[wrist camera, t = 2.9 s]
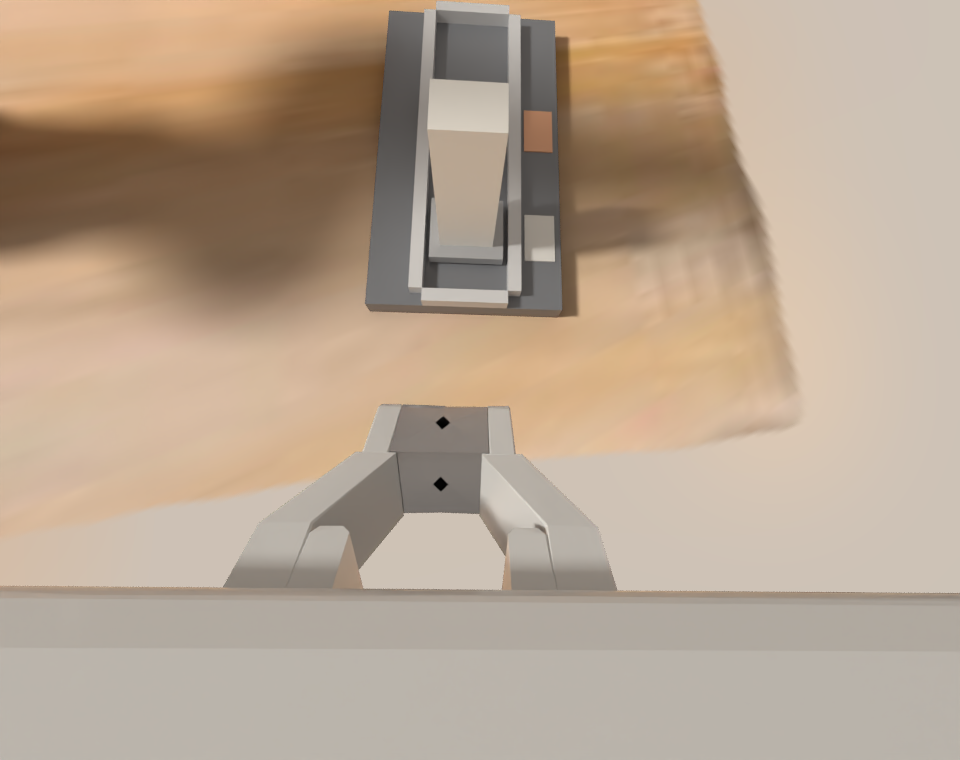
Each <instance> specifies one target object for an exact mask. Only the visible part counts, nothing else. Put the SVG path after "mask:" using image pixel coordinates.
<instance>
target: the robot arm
mask: <svg viewBox="0 0 960 760" xmlns="http://www.w3.org/2000/svg"><path fill="white" fill-rule="evenodd" d="M434 512H437V513H438V512H442V513H468V514H469V513H470V514H480V517H481V519H482V520H483V522H484V524H485V525H486V527H487V528H488V530H489V531H490V533H491V535H492V536H493V538H494V539H495V541H496V542H497V544H498V545H499V547H500V548H501V550H502V551H503V553H504V555H505V556H506V558H505V567H504V575H503V585H502V590H443V589H442V590H440V589H438V590H437V589H363V586H362V582H361V578H360V574H359V569H360V568H361V566H362V565H363V564H364V563H365V562H366V560H367V559H368V558H369V557H370V555H371V554H372V553H373V552H374V551H375V549H376V548H377V547H378V546H379V544H380V543H381V542H382V541H383V540H384V538H385V537H386V536H387V535H388V534H389V532H390V531H391V530H392V529H393V528H394V526H395V525H396V524H397V522H398V521H399V520H400V519H401V518H402V517H403V516H404V515H403V513H434ZM0 760H960V593H855V592H851V593H850V592H847V593H846V592H729V591H728V592H727V591H726V592H725V591H617V588H616V585H615V581H614V578H613V575H612V571H611V568H610V565H609V562H608V558H607V555H606V552H605V548H604V545H603V542H602V539H601V535H600V532H599V529H598V527H597V526H596V525H595V524H594V523H593V522H592V521H591V520H590V519H589V518H588V517H587V516H586V515H585V514H584V513H583V512H582V511H580V510H579V509H578V508H577V507H576V506H575V505H574V504H573V503H572V502H571V501H570V500H569V499H568V498H567V497H566V496H565V495H564V494H563V493H562V492H561V491H560V490H559V489H558V488H557V487H555V485H553V484H552V483H551V482H550V481H549V480H548V479H547V478H546V477H545V476H544V475H543V474H542V473H541V472H540V471H539V470H538V469H537V468H536V467H535V466H534V465H533V464H532V463H531V462H530V461H529V460H527V459H526V458H525V457H524V456H523V455H522V454H516V453H515V445H514V436H513V428H512V420H511V412H510V408H509V407H508V406H488V407H446V406H429V405H404V404H403V405H401V404H381V405H380V406H379V407H378V409H377V412H376V415H375V418H374V421H373V423H372V426H371V429H370V432H369V435H368V437H367V440H366V443H365V446H364V449H363V451H362V452H355V453H353V454H352V455H351V456H349V457H348V458H347V459H345V460H344V461H343V462H341V463H340V464H338V465H337V466H336V467H334V468H333V469H332V470H330V471H329V472H328V473H326V474H325V475H323V476H322V477H321V478H319V479H318V480H317V481H315V482H314V483H313V484H311V485H310V486H308V487H307V488H306V489H305V490H303V491H302V492H300V493H299V494H297V495H296V496H295V497H293V498H292V499H291V500H290V501H288V502H287V503H285V504H284V505H282V506H281V507H280V508H278V509H277V510H276V511H274V512H273V513H272V514H270V515H269V516H267V517H266V518H265V519H263V520H262V521H261V522H259V524H258V525H257V527H256V529H255V531H254V533H253V534H252V536H251V538H250V540H249V542H248V544H247V545H246V547H245V549H244V551H243V552H242V554H241V556H240V558H239V559H238V561H237V563H236V565H235V567H234V568H233V570H232V572H231V574H230V576H229V577H228V579H227V581H226V583H225V585H224V586H223V588H209V587H202V588H201V587H200V588H199V587H82V586H80V587H78V586H77V587H76V586H75V587H74V586H0Z"/></svg>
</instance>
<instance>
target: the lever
mask: <svg viewBox="0 0 960 760" xmlns="http://www.w3.org/2000/svg"><path fill="white" fill-rule="evenodd" d="M508 129H509V83H498V82H480V81H462V80H444V79H430V87H429V105H428V124H427V132H428V141H429V150H430V159H431V168H432V177H433V187H434V196H435V198H432V199H431V219H430V240H429V261H430V262H442V263H468V264H495V265H502V262H503V201H499V198H500V190H501V183H502V176H503V169H504V162H505V155H506V147H507V140H508Z"/></svg>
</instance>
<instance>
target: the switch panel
mask: <svg viewBox="0 0 960 760" xmlns="http://www.w3.org/2000/svg"><path fill="white" fill-rule="evenodd" d="M430 79H444V80H462V81H480V82H498V83H509V129H508V140H507V147H506V155H505V162H504V169H503V176H502V183H501V190H500V198H499V201H503V262H502V265H495V264H468V263H442V262H430V261H429V240H430V219H431V199H432V198H435V196H434V187H433V177H432V168H431V159H430V150H429V141H428V132H427V124H428V105H429V87H430ZM365 304H366V306H367V307H368V309H369V310H370V311H383V312H414V313H444V314H475V315H505V316H536V317H558V316H559V314H560V313H561V311H562V281H561V242H560V204H559V165H558V127H557V88H556V49H555V21H546V20H530V19H520V15H511V14H509V5H494V4H479V3H463V2H448V1H437V2H436V10H432V9H425V10H424V13H419V12H403V11H389V20H388V33H387V45H386V57H385V69H384V81H383V93H382V105H381V118H380V130H379V142H378V154H377V166H376V178H375V191H374V203H373V215H372V227H371V239H370V251H369V263H368V276H367V288H366V300H365Z"/></svg>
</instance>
